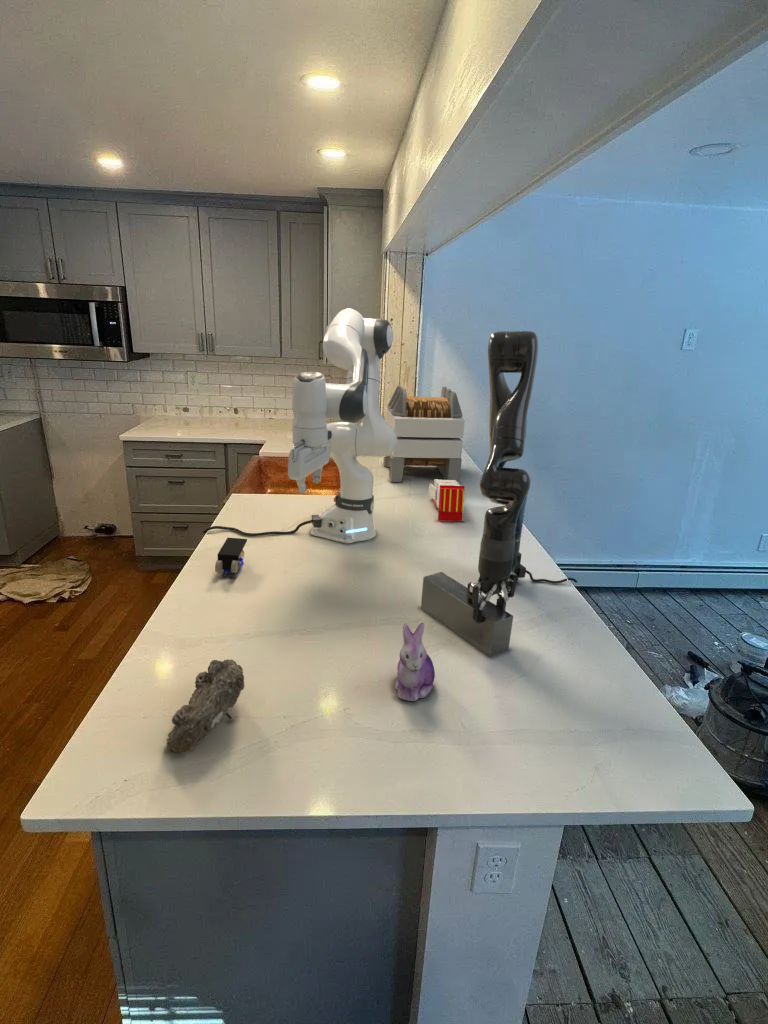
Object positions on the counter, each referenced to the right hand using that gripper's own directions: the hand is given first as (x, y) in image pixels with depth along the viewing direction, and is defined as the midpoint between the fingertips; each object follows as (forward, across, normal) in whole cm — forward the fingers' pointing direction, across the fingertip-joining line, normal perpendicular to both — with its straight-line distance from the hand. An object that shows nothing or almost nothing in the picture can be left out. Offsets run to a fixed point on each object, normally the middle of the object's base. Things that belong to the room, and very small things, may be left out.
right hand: (488, 617), depth 134 cm
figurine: (+7, -25, -5) cm, 27 cm away
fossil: (+7, -64, +8) cm, 64 cm away
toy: (+7, +54, +80) cm, 96 cm away
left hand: (-21, -22, +49) cm, 58 cm away
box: (+7, 0, +8) cm, 11 cm away
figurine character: (+7, -38, +67) cm, 78 cm away
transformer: (+7, +77, +126) cm, 148 cm away
